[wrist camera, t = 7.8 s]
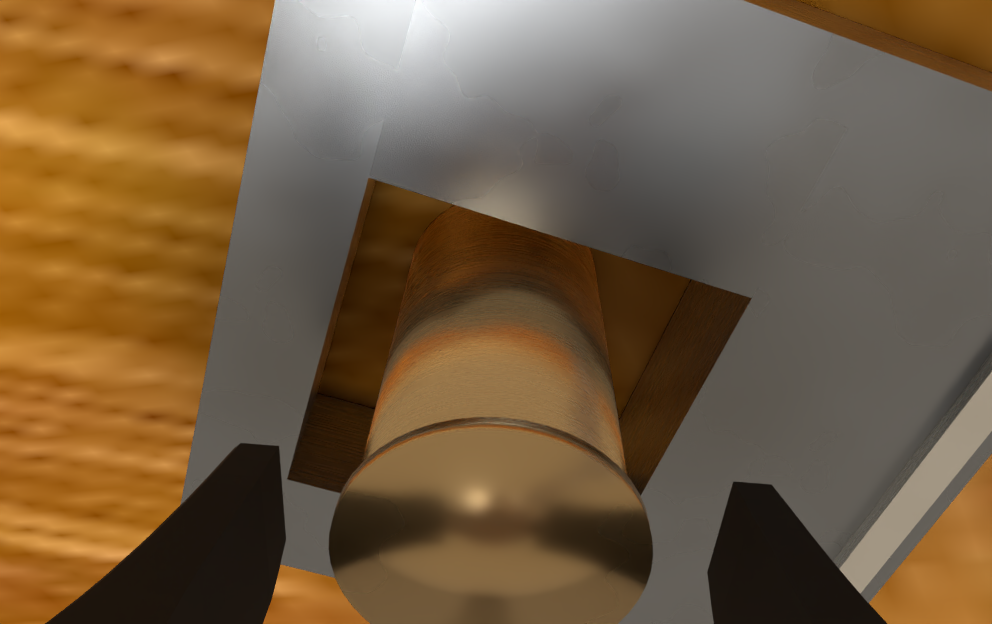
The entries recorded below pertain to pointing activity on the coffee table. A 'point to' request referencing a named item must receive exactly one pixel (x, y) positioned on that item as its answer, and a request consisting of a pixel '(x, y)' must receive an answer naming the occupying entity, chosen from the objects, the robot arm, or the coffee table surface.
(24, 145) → the coffee table surface
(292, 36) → the jig
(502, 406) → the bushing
